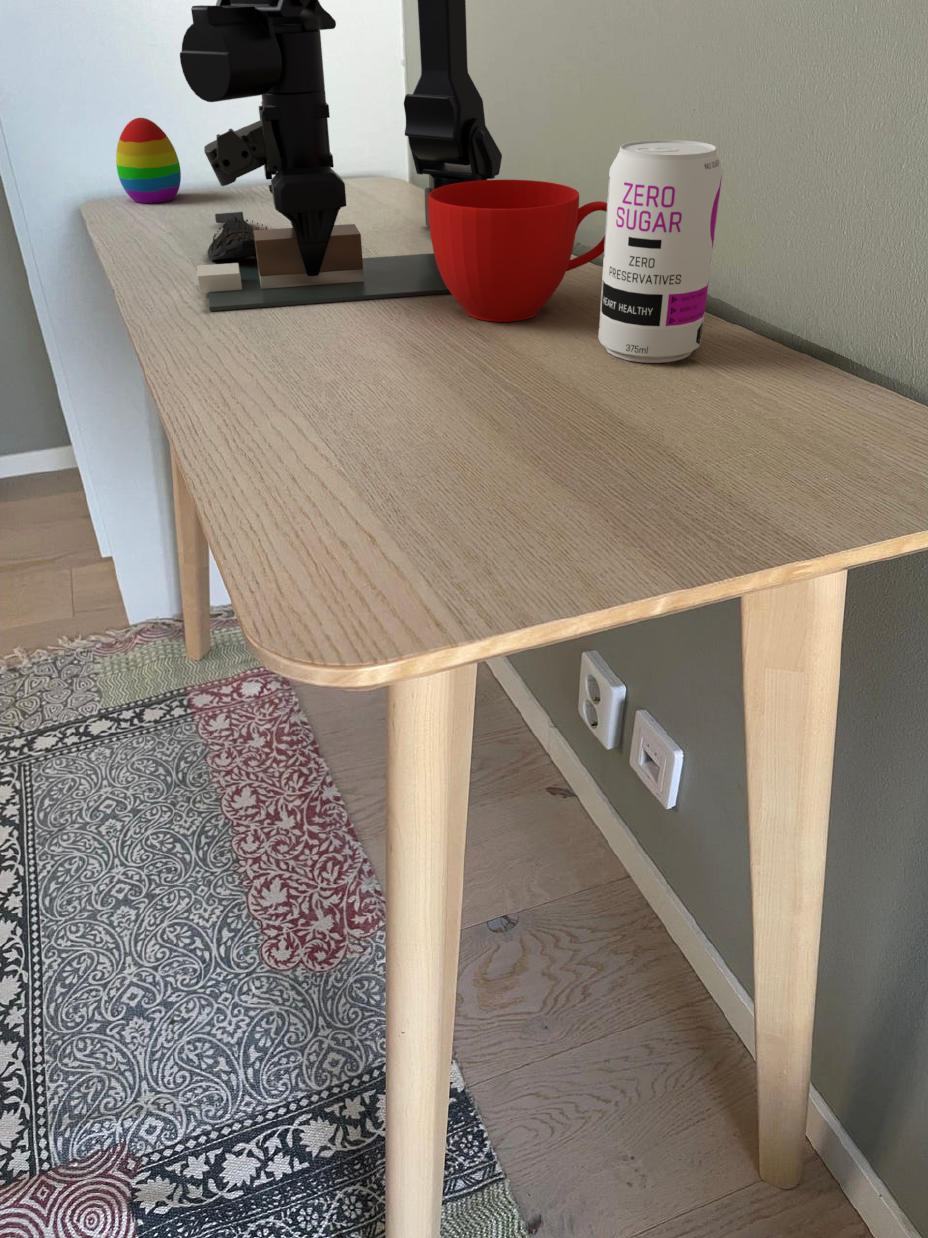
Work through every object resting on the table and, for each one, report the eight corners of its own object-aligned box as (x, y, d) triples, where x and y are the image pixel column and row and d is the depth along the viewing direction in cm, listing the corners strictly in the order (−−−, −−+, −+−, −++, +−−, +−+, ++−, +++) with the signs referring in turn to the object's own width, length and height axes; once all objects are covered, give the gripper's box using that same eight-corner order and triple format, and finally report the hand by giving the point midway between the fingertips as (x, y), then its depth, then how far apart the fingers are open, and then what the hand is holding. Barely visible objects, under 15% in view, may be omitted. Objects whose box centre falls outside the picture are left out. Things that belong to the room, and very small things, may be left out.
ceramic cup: (635, 324, 85) (646, 201, 79) (445, 338, 82) (442, 212, 77) (590, 284, 96) (596, 174, 90) (420, 296, 93) (416, 183, 87)
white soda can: (686, 331, 83) (709, 137, 75) (710, 364, 76) (738, 155, 68) (591, 333, 83) (604, 139, 75) (606, 367, 76) (622, 157, 68)
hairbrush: (257, 195, 120) (291, 227, 100) (261, 226, 122) (295, 264, 101) (189, 200, 118) (209, 234, 97) (194, 232, 120) (215, 272, 99)
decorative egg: (123, 195, 135) (108, 115, 130) (183, 191, 137) (171, 112, 132) (122, 207, 129) (106, 123, 123) (186, 203, 131) (172, 119, 125)
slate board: (435, 256, 105) (435, 252, 105) (463, 292, 94) (463, 287, 94) (208, 272, 101) (208, 268, 101) (209, 311, 90) (209, 306, 89)
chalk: (240, 279, 97) (238, 262, 96) (242, 289, 94) (240, 272, 93) (200, 281, 97) (197, 265, 96) (200, 292, 93) (197, 275, 92)
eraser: (358, 270, 100) (354, 223, 97) (364, 281, 96) (360, 233, 93) (259, 276, 98) (253, 229, 95) (261, 289, 94) (255, 240, 92)
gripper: (201, 83, 94) (225, 252, 102) (201, 106, 79) (230, 301, 87) (317, 79, 96) (331, 245, 104) (339, 100, 81) (353, 292, 89)
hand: (310, 269), depth 96 cm, fingers closed on eraser, 4 cm apart
